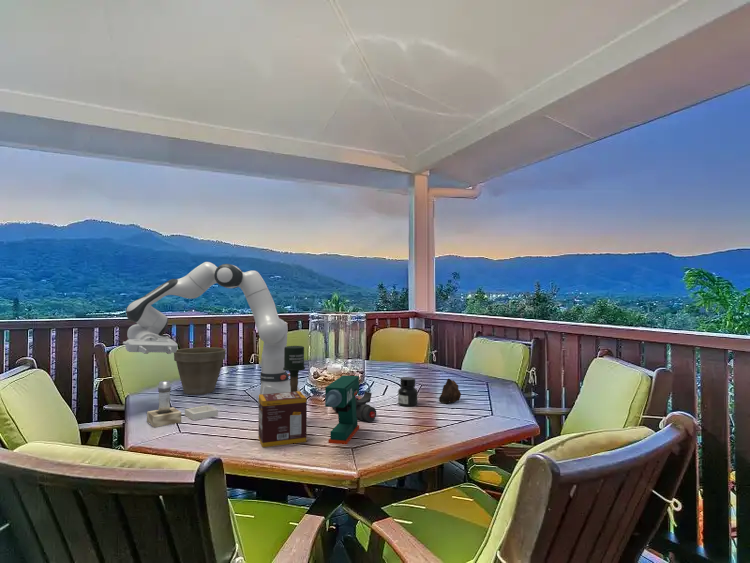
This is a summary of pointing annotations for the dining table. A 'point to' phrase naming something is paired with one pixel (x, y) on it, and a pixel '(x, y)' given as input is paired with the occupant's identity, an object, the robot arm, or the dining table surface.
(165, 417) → the socket block
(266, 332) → the robot arm
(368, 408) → the laser sight
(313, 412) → the dining table surface
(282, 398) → the supplement box
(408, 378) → the ink bottle
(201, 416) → the tray
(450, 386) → the decorative rock
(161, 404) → the collared metal peg
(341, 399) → the power tool
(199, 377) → the plant pot
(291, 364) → the stick grenade
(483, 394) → the dining table surface
